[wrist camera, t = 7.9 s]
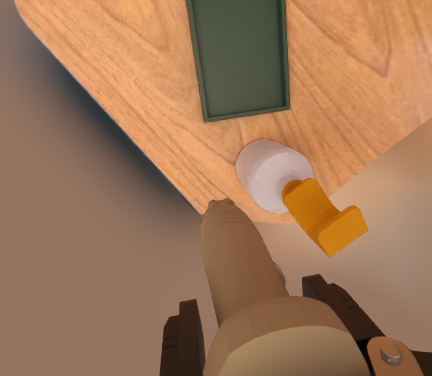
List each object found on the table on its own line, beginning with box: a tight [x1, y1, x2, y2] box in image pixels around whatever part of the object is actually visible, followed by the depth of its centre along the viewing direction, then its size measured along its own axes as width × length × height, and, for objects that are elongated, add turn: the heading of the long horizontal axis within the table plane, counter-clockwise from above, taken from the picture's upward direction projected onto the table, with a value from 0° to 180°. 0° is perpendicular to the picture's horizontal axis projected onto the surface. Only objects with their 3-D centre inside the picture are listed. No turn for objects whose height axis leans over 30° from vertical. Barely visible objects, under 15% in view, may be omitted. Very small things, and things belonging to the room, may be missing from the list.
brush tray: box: [186, 0, 290, 122], centre depth 38 cm, size 17×13×2 cm
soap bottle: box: [236, 139, 368, 257], centre depth 33 cm, size 9×9×25 cm
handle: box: [201, 198, 371, 376], centre depth 15 cm, size 5×6×15 cm
